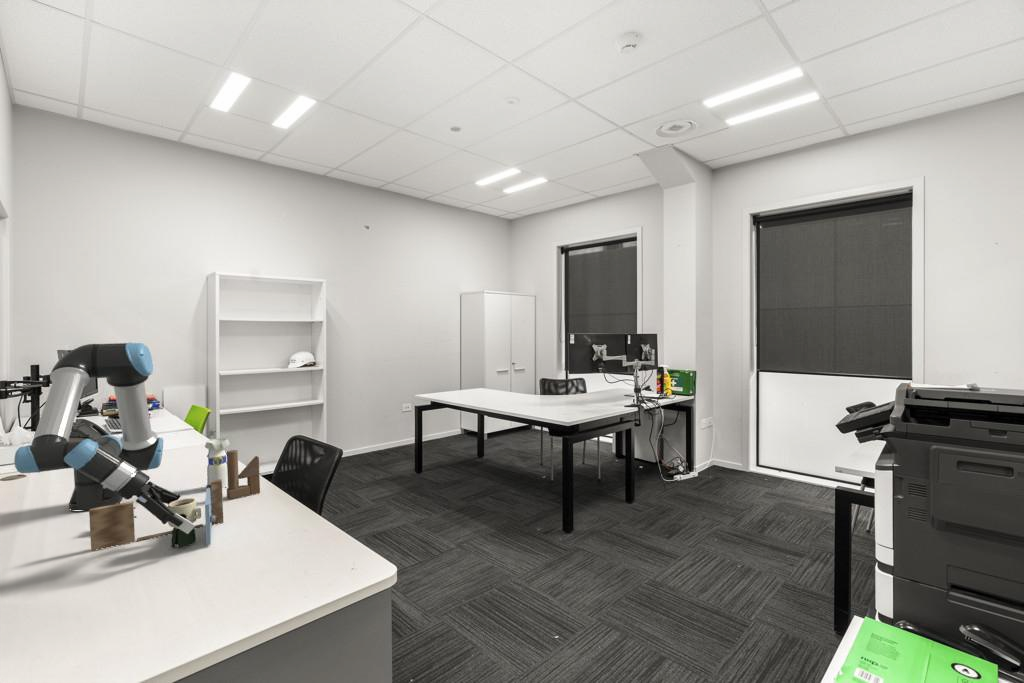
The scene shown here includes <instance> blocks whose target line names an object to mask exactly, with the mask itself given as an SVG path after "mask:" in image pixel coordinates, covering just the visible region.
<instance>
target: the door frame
mask: <svg viewBox="0 0 1024 683" xmlns="http://www.w3.org/2000/svg"><path fill="white" fill-rule="evenodd" d="M205 487H206V489H207V488H210V495H211V516H214V515H215V522H212V526H214V524H215V525H219V524H218V523H220V524H223V523H224V504H223V503H224V500H223V489H222V480H221V479H219V480H213V481H211V485H207V484H206V485H205ZM206 489H205V490H206ZM134 506H135V505H134V501H133V500H132V501H127V502H126V501H125V502H120V504H118V503H117V504H114V505H109V506H103V507H98V508H92V509H90V510H89V511H88V514H89V536H90V551H91V550H96V549H101V548H105V549H107V548H106V547H110V548H112V547H111V546H114V547H117V546H116V545H119V546H122V545H121V544H123V545H127V544H126V543H128V544H131V543H130V542H133V543H135V541H136V542H137V541H138V542H142V541H141V540H143V541H147V540H151V539H150V538H152V539H155V538H154V537H156V538H159V537H158V536H161V537H164V536H163V535H165V536H168V534H170V535H172V530H167V531H163V532H159V533H154V534H149V535H143V536H140V537H136V535H135V534H136V530H135V518H134V516H135V513H134V512H135V509H134ZM222 522H223V523H222ZM195 525H196V526H195V527H194V530H196V529H195V528H197V529H201V528H200V527H202V528H204V525H203V523H201V524H195ZM146 539H147V540H146ZM101 550H102V549H101ZM96 551H97V550H96Z"/></svg>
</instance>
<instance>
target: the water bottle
mask: <svg viewBox="0 0 1024 683" xmlns="http://www.w3.org/2000/svg"><path fill="white" fill-rule="evenodd" d="M216 432H217V430H213V428H211V429H210V430H208V431H206V433H208V437H209V438H210V437H211V436H212V437H215V433H216ZM229 446H230V441H229V439H228V438H227V437H221V438H220V437H219V438H218V437H217V438H212V439H209V440H206V443H205V445H204V448H205V449H206V450H207V449H208V453H207V455H206V457H207V461H208V462H207V463H208V464H207V466H206V468H207V470H206V472H207V479H206V480H207V484H206V485H211V481H213V480H219V479H221V480H222V488H225V487H227V488H228V474H227V451H226V448H227V447H229ZM225 489H226V488H225Z"/></svg>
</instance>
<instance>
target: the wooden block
mask: <svg viewBox="0 0 1024 683" xmlns="http://www.w3.org/2000/svg"><path fill="white" fill-rule="evenodd" d="M226 453H227V455H226V462H227V474H228V487H227V488H226V498H227V499H228V500H229V499H231V500H235V499H239V498H238V497H240V498H243V497H242V496H244V497H247V495H248V496H252V494H253V495H257V494H256V493H258V494H260V493H261V485H260V484H261V482H260V478H261V477H260V457H259V456H257V455H255V456H254V457H253V458H252V459H251V461H250V462H249V463H248V464H247V465H246V466H245V467H244V468H243V469H242V471H241V472H240V473H239V459H238V458H239V456H238V455H239V454H238V450H237V449H231V450H228V451H226ZM240 479H242V480H243V479H247V482H246V483H247V484H246V485H244V484H243V485H240V482H239V481H240ZM234 498H235V499H234Z"/></svg>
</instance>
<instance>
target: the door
mask: <svg viewBox="0 0 1024 683" xmlns="http://www.w3.org/2000/svg"><path fill="white" fill-rule="evenodd" d="M205 491H206V492H205V502H204V514H205V516H204V517H205V535H206V537H205V542H206V543H205V544H206V546H210V545H211V544H212V526H213V524H212V522H215V515H214V516H211V508H212V505H211V495H210V488H207V489H205Z"/></svg>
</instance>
